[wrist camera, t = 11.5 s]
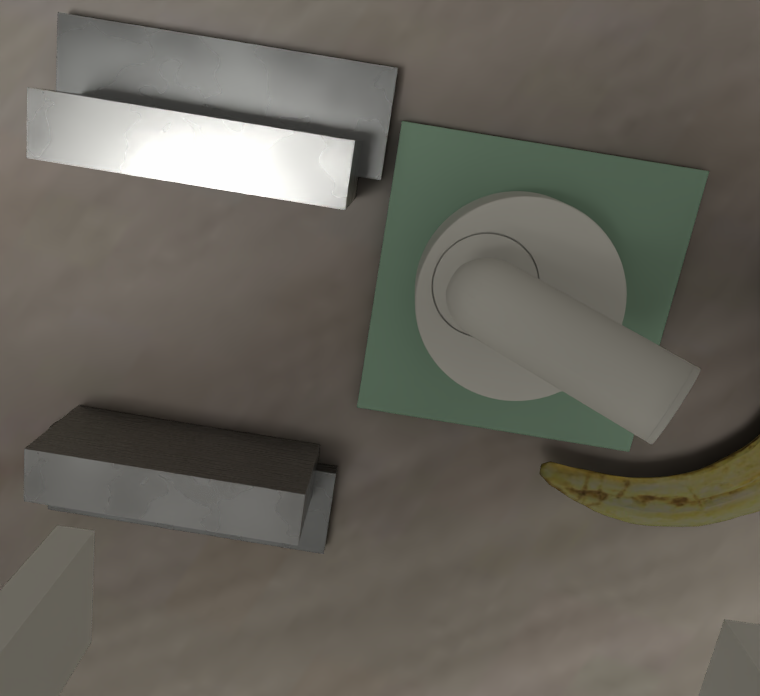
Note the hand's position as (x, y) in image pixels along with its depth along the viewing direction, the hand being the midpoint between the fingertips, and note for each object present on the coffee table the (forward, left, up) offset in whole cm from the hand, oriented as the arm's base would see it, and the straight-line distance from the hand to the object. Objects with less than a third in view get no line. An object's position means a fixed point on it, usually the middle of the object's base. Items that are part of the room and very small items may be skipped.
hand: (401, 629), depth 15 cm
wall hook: (+5, +4, -19) cm, 20 cm away
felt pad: (+5, +4, -19) cm, 20 cm away
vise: (-9, +1, -19) cm, 21 cm away
